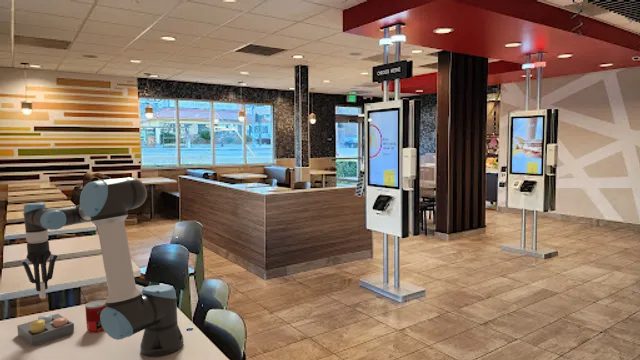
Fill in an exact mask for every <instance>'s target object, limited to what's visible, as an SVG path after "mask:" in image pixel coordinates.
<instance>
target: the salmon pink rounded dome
mask: <svg viewBox="0 0 640 360" xmlns="http://www.w3.org/2000/svg"><path fill="white" fill-rule="evenodd" d="M67 320H68V318H67V317H66V316H65V317H64V316H62V317H61V318H57V319H55V320H53V325H54V327H55V328H57V327H61V326H64V325H67Z"/></svg>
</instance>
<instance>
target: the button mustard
mask: <svg viewBox="0 0 640 360" xmlns="http://www.w3.org/2000/svg"><path fill="white" fill-rule="evenodd" d="M30 322H31V321H30ZM30 328H31V333H39V332H42V331H44V330H45V320H43V319H40V320H38V319H35V320H32V322H31V323H30Z"/></svg>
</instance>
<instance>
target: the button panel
mask: <svg viewBox="0 0 640 360" xmlns="http://www.w3.org/2000/svg"><path fill="white" fill-rule="evenodd" d="M51 315H52V314H51ZM61 317H63V316H62V315H61V314H60V313H56V314H53V315H52V321H50V322H46V323H45V330H44V331H42V332H39V333H31V328H30V323H31V322H32V321H33V320H32V321H28V322H24V323H22V324H18V325H16V326H17V327H16V328H17V336H18V337H20V338H21V339H22V340H23V341H24V342H26V343H27V344H29V346H31V347H35V346H38V345H42V344H44V343H47V342H50V341H52V340H56V339H59V338H62V337H65V336H68V335H71V334H74V333H75V324H74V323H73V322H72V321H71V320H69V319H67V325H64V326H61V327H57V328H55V327H54V325H53V320H55V319H57V318H61Z"/></svg>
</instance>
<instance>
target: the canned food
mask: <svg viewBox="0 0 640 360" xmlns="http://www.w3.org/2000/svg"><path fill="white" fill-rule="evenodd" d="M104 308H106V303H105V300H102V299H100V300H99V299H98V300H93V301H92V300H91V301H89V302H87V303H86V304H85V319H86V330H87V332H88V333H91V334H96V333H97V334H98V333H101V332H105V330H104V329H103V327H102V324H101V321H100V315H101V312H102V310H103V309H104Z"/></svg>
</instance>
